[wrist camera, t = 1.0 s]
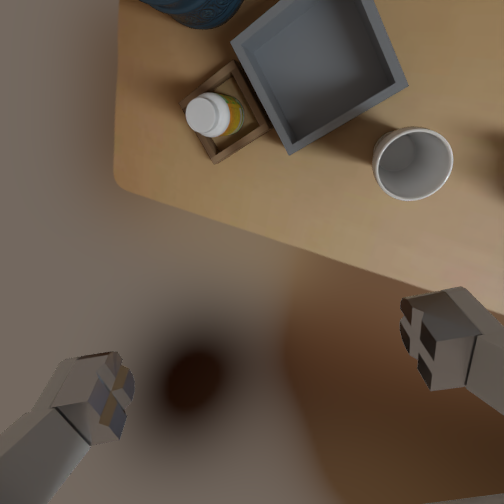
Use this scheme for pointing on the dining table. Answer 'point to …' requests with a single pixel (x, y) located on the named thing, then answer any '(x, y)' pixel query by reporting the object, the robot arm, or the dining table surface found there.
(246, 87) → the socket collar
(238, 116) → the supplement bottle
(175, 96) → the dining table surface
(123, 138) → the dining table surface
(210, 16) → the canister
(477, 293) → the dining table surface
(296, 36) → the bin
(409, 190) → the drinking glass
